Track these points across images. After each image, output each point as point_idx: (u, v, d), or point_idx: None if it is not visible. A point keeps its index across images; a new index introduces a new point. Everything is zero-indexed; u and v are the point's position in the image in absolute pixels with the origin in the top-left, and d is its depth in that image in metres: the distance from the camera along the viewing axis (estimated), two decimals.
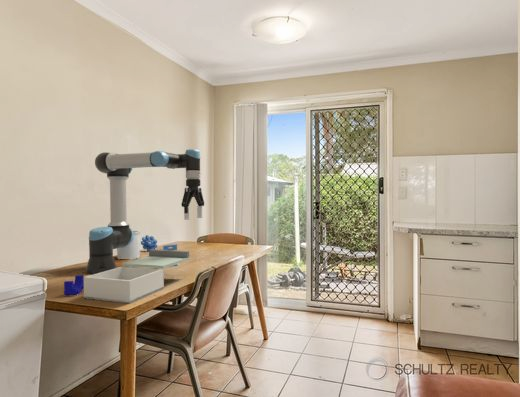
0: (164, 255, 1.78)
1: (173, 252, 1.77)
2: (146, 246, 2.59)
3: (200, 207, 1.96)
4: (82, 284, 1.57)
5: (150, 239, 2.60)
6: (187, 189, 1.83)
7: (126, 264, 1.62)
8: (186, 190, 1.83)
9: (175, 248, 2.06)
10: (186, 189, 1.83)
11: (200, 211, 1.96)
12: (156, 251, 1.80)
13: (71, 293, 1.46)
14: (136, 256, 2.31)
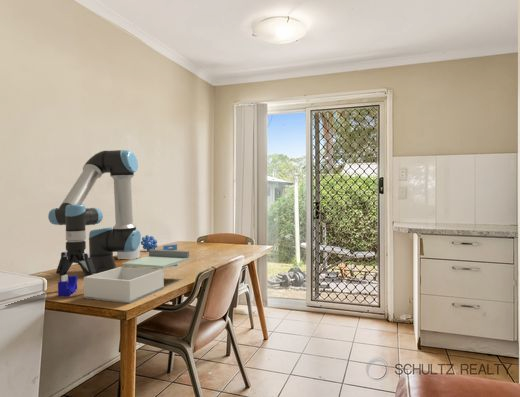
0: (164, 255, 1.78)
1: (173, 252, 1.77)
2: (146, 246, 2.59)
3: None
4: (76, 284, 1.56)
5: (150, 239, 2.60)
6: None
7: (126, 264, 1.62)
8: None
9: (175, 248, 2.06)
10: None
11: None
12: (156, 251, 1.80)
13: (65, 294, 1.45)
14: (136, 256, 2.31)
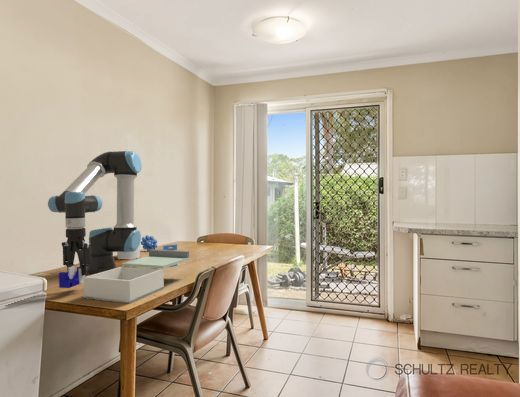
0: (164, 255, 1.78)
1: (173, 252, 1.77)
2: (146, 246, 2.59)
3: None
4: None
5: (150, 239, 2.60)
6: None
7: (126, 264, 1.62)
8: None
9: (175, 248, 2.06)
10: None
11: None
12: (156, 251, 1.80)
13: (65, 284, 1.45)
14: (136, 256, 2.31)
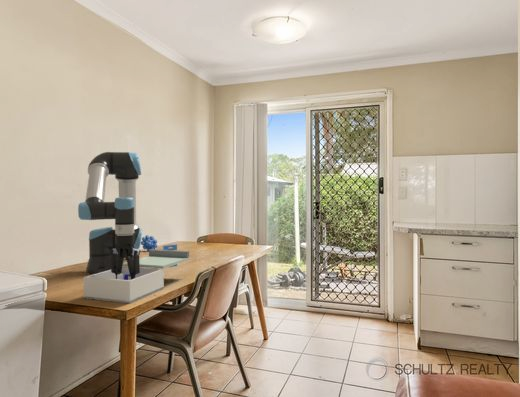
0: (164, 255, 1.78)
1: (173, 252, 1.77)
2: (146, 246, 2.59)
3: None
4: None
5: (150, 239, 2.60)
6: None
7: (126, 264, 1.62)
8: None
9: (175, 248, 2.06)
10: None
11: None
12: (156, 251, 1.80)
13: None
14: None
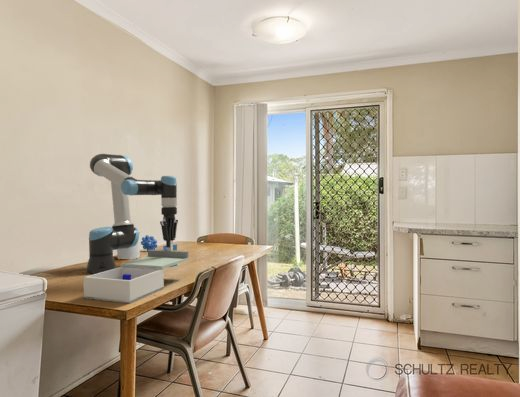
0: (163, 255, 1.77)
1: (172, 252, 1.76)
2: (146, 246, 2.59)
3: None
4: None
5: (150, 239, 2.60)
6: None
7: (125, 264, 1.61)
8: None
9: (175, 248, 2.06)
10: None
11: None
12: (155, 251, 1.79)
13: None
14: (136, 256, 2.31)
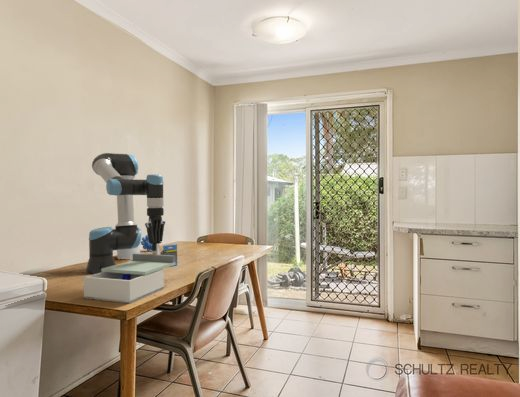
0: (149, 259, 1.66)
1: (158, 256, 1.65)
2: (146, 246, 2.59)
3: None
4: None
5: None
6: None
7: (106, 270, 1.50)
8: None
9: (175, 248, 2.06)
10: None
11: None
12: (140, 255, 1.68)
13: None
14: None
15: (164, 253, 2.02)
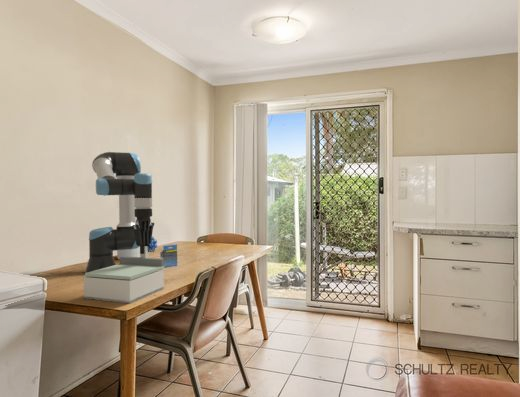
0: (136, 263, 1.58)
1: (146, 259, 1.56)
2: None
3: None
4: None
5: None
6: None
7: (89, 274, 1.41)
8: None
9: (175, 248, 2.06)
10: None
11: None
12: (127, 258, 1.59)
13: None
14: (136, 256, 2.31)
15: (164, 253, 2.02)
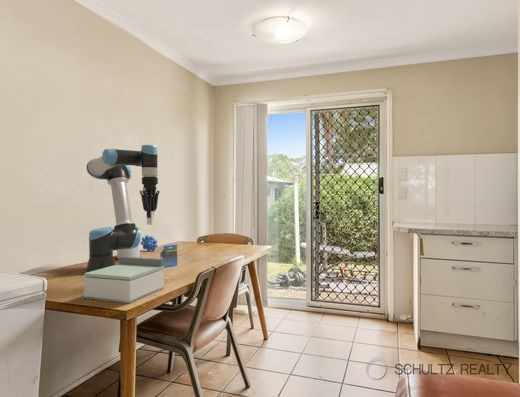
0: (136, 263, 1.58)
1: (146, 259, 1.56)
2: (146, 246, 2.59)
3: None
4: None
5: (150, 239, 2.60)
6: None
7: (89, 274, 1.41)
8: None
9: (175, 248, 2.06)
10: None
11: None
12: (127, 258, 1.59)
13: None
14: (136, 256, 2.31)
15: (164, 253, 2.02)
